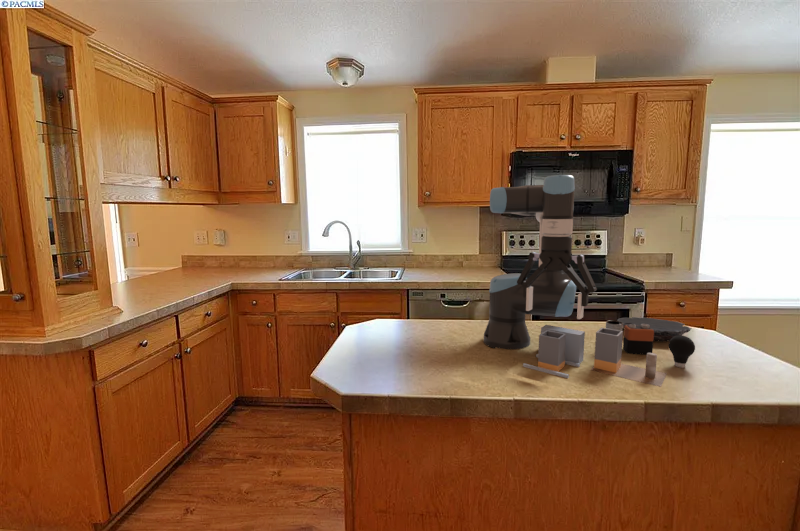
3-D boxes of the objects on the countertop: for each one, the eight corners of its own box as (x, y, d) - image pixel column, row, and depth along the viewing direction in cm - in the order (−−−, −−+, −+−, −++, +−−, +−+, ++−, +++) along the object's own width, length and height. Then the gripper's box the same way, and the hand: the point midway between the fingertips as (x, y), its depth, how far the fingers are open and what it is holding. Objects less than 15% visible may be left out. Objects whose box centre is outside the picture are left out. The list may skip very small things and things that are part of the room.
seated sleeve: (594, 367, 107) (596, 332, 105) (599, 361, 111) (601, 327, 109) (616, 372, 103) (618, 336, 102) (620, 366, 107) (623, 331, 106)
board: (612, 338, 135) (613, 323, 134) (619, 325, 153) (620, 312, 152) (691, 350, 122) (693, 334, 122) (689, 335, 140) (690, 321, 140)
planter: (619, 353, 121) (621, 320, 120) (622, 358, 117) (624, 324, 116) (603, 351, 123) (604, 319, 121) (605, 356, 118) (607, 323, 117)
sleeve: (537, 370, 108) (539, 335, 107) (545, 364, 112) (546, 330, 111) (557, 375, 105) (559, 339, 103) (564, 368, 109) (566, 334, 107)
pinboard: (590, 375, 106) (591, 348, 104) (600, 363, 113) (601, 338, 112) (660, 392, 95) (663, 363, 94) (666, 378, 103) (668, 351, 102)
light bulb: (661, 367, 110) (664, 333, 109) (680, 366, 110) (683, 332, 109) (677, 376, 104) (680, 340, 103) (698, 375, 105) (701, 339, 103)
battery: (652, 360, 115) (655, 327, 114) (627, 358, 117) (629, 326, 115) (646, 354, 120) (648, 323, 118) (622, 353, 121) (624, 322, 120)
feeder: (522, 371, 109) (523, 336, 107) (543, 356, 120) (544, 324, 118) (567, 383, 101) (569, 346, 99) (584, 365, 112) (586, 331, 111)
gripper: (506, 234, 108) (504, 309, 111) (605, 237, 92) (599, 325, 95) (517, 233, 114) (515, 304, 117) (612, 235, 98) (607, 318, 101)
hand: (553, 314), depth 106 cm, fingers open, 13 cm apart
